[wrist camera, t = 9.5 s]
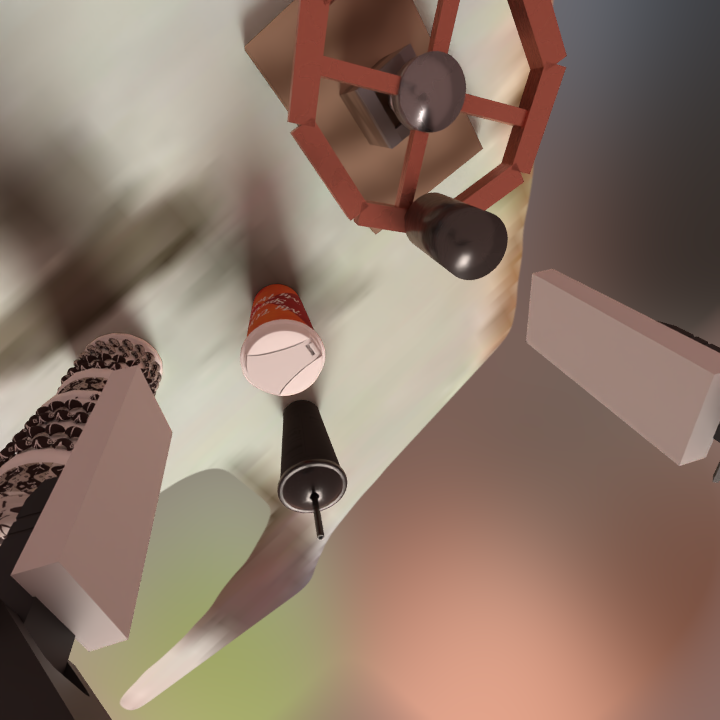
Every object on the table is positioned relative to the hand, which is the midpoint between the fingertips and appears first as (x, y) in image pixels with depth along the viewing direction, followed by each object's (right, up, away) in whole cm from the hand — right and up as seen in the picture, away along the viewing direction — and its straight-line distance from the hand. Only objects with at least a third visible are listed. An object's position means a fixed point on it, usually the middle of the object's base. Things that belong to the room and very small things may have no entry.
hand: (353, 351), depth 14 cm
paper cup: (-10, +6, +35) cm, 37 cm away
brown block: (+1, +25, +27) cm, 37 cm away
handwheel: (+3, +20, +19) cm, 28 cm away
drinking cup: (-8, -8, +44) cm, 45 cm away
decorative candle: (-27, -1, +35) cm, 44 cm away
